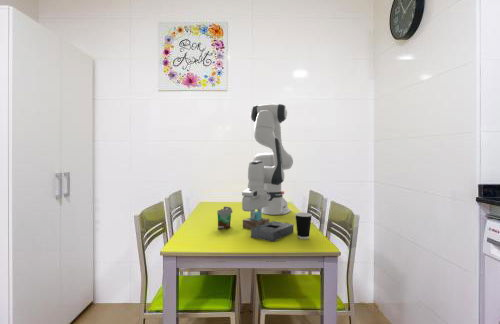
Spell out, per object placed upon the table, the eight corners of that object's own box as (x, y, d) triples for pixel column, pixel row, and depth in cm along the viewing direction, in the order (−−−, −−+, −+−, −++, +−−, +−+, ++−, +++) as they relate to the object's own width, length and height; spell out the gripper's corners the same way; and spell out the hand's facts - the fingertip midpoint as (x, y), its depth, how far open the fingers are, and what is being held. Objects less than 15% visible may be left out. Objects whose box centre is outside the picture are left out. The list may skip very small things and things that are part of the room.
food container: (228, 230, 156) (228, 211, 155) (217, 230, 157) (217, 210, 157) (234, 225, 168) (235, 206, 167) (224, 224, 169) (224, 206, 169)
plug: (253, 225, 167) (253, 211, 166) (261, 227, 164) (261, 212, 163) (250, 226, 164) (250, 211, 164) (258, 228, 161) (258, 212, 161)
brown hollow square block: (253, 223, 171) (253, 216, 171) (268, 226, 165) (268, 219, 165) (242, 227, 163) (242, 219, 162) (258, 230, 157) (258, 222, 157)
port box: (272, 228, 160) (272, 220, 160) (293, 232, 154) (293, 223, 154) (250, 237, 144) (250, 227, 144) (273, 241, 137) (273, 231, 137)
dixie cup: (292, 235, 147) (292, 212, 147) (307, 234, 149) (307, 212, 149) (298, 240, 139) (299, 216, 139) (314, 239, 141) (315, 215, 141)
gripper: (261, 188, 174) (261, 213, 174) (240, 192, 157) (239, 219, 157) (271, 189, 170) (271, 214, 170) (250, 193, 153) (250, 221, 154)
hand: (255, 217), depth 164 cm, fingers closed on plug, 3 cm apart
